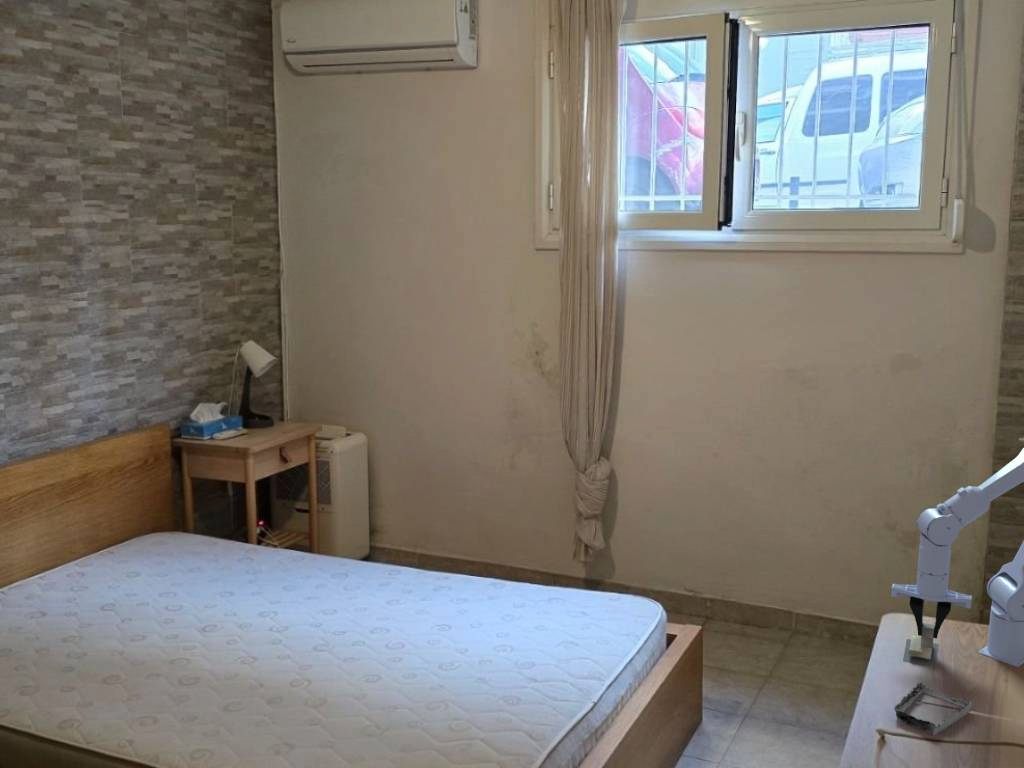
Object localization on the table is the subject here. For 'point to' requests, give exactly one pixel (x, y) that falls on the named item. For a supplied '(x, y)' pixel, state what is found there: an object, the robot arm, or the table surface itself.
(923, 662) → the rest mat
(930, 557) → the robot arm
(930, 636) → the scraper
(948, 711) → the table surface
